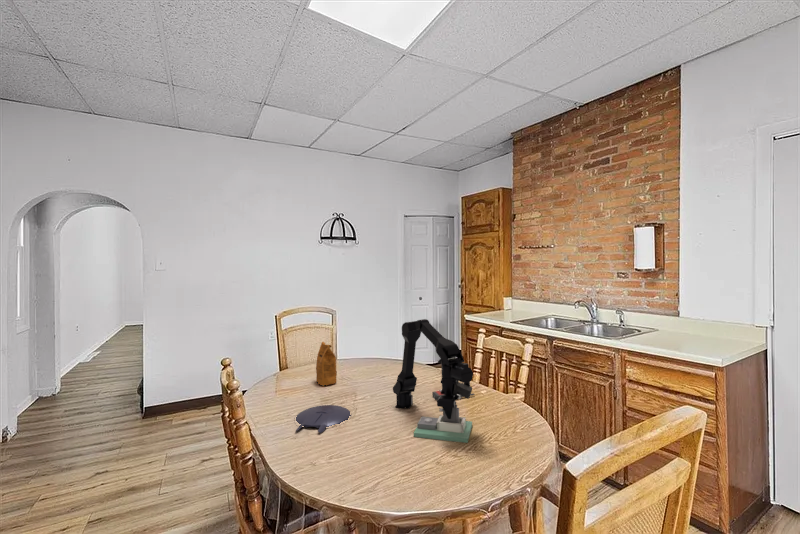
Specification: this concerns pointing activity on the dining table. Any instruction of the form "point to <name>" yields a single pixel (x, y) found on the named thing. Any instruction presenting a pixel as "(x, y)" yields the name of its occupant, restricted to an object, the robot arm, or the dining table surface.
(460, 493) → the dining table surface
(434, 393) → the walkie-talkie
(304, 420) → the toy spaceship
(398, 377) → the robot arm
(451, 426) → the board
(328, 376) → the coffee package
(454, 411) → the plug
